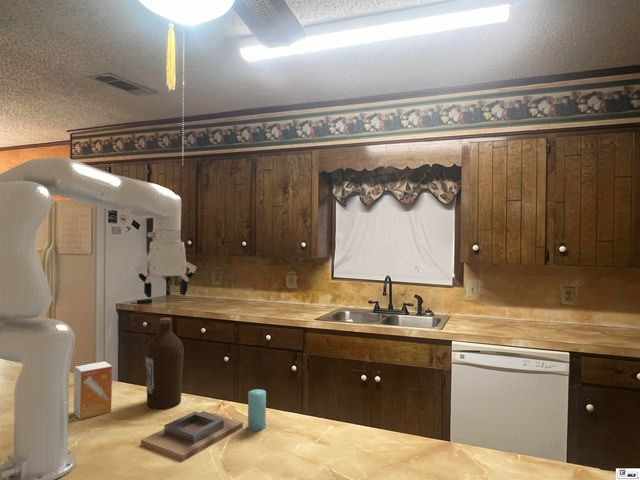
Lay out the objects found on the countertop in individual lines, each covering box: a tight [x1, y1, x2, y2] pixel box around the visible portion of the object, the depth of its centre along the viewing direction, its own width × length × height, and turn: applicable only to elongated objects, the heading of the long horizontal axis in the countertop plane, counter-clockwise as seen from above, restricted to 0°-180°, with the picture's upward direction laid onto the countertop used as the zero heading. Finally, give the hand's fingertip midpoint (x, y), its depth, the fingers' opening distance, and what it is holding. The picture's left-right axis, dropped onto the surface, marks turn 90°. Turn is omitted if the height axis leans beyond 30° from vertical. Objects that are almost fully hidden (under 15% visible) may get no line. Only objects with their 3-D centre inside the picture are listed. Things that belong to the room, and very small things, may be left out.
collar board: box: [140, 410, 244, 462], centre depth 106 cm, size 20×14×3 cm
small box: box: [73, 361, 113, 420], centre depth 119 cm, size 8×6×13 cm
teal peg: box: [247, 388, 267, 432], centre depth 112 cm, size 4×4×9 cm
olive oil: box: [144, 317, 185, 410], centre depth 126 cm, size 11×11×25 cm
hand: (166, 295), depth 124 cm, fingers open, 9 cm apart
